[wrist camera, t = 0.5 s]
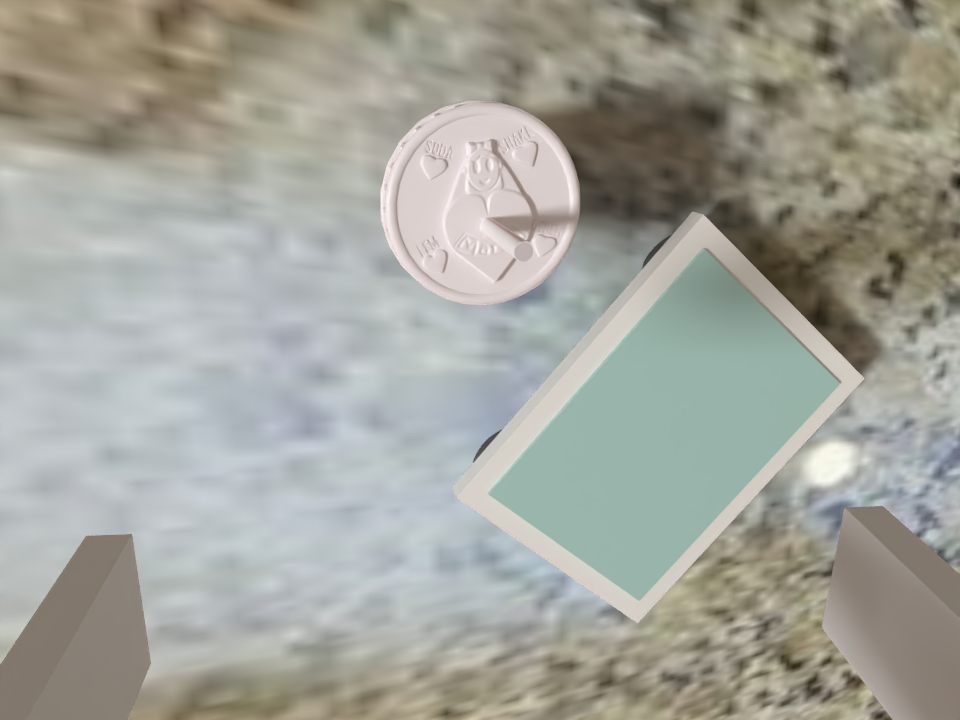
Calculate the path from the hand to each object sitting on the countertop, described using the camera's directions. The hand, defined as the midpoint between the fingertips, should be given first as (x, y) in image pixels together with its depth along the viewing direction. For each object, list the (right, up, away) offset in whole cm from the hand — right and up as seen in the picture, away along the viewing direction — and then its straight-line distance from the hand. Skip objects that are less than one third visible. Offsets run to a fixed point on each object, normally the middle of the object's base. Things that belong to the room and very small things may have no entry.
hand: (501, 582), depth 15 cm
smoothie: (-2, +12, +19) cm, 23 cm away
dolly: (+7, +2, +25) cm, 26 cm away
